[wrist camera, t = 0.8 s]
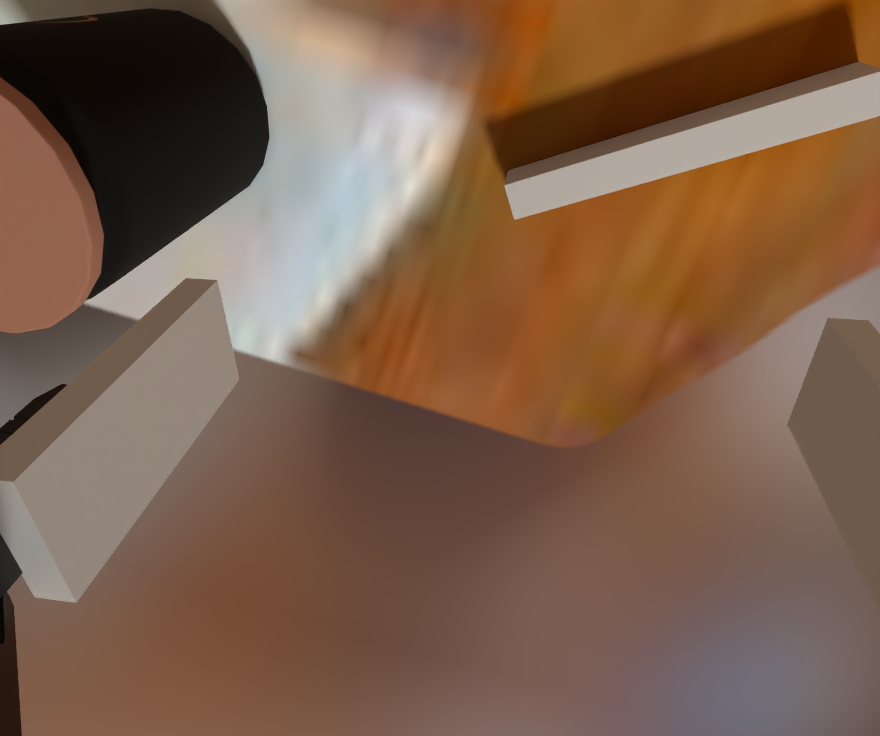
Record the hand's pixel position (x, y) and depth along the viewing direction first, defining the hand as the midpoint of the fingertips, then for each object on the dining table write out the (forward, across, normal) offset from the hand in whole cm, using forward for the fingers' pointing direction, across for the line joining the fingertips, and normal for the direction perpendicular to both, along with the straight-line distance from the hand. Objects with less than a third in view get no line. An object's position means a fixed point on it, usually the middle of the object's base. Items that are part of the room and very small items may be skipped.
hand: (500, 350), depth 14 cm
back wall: (+25, +8, -1) cm, 26 cm away
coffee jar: (+25, -20, 0) cm, 32 cm away
